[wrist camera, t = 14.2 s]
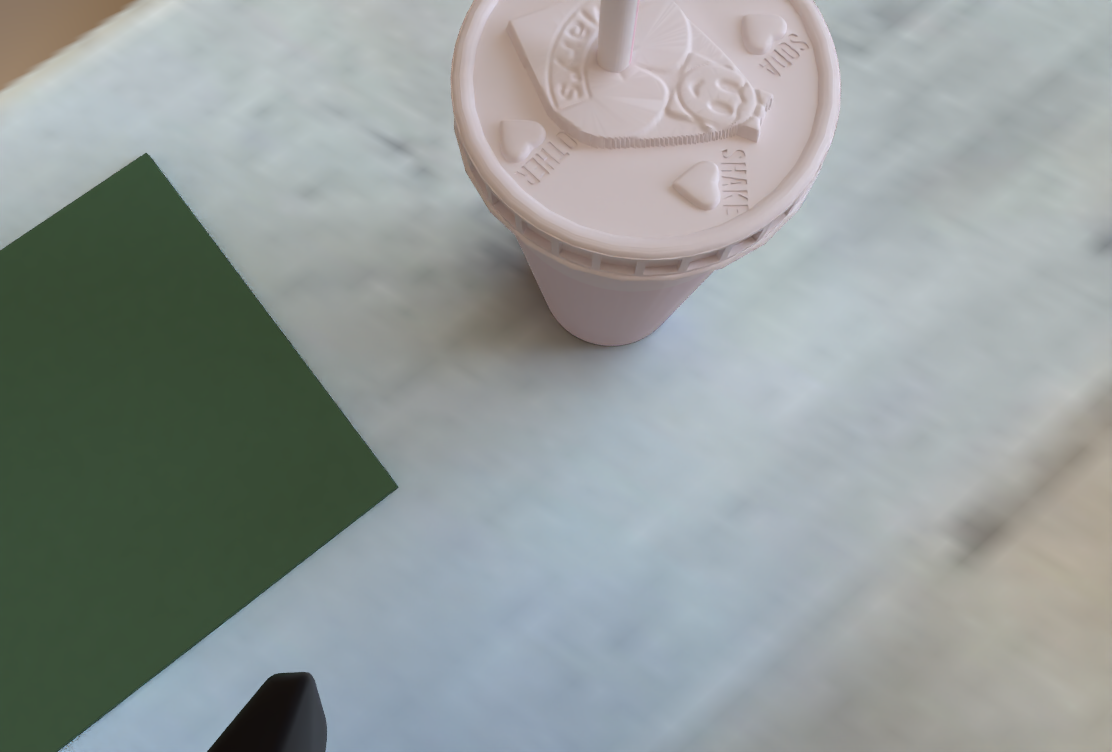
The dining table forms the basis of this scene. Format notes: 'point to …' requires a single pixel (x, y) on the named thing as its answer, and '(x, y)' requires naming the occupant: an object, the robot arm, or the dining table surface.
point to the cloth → (146, 454)
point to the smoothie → (641, 141)
